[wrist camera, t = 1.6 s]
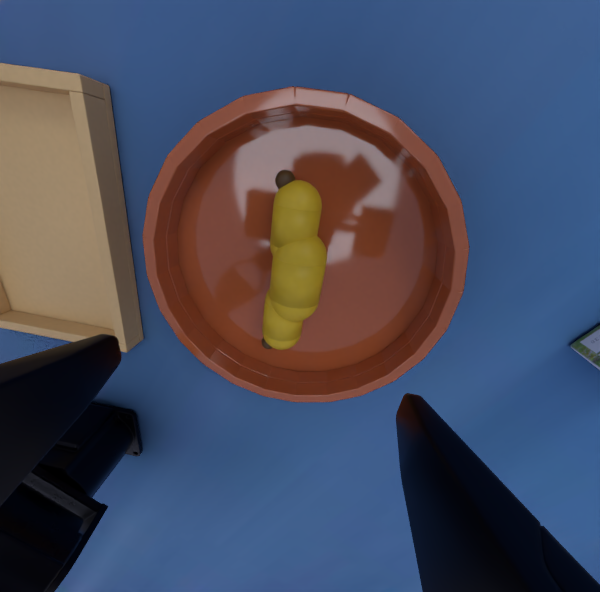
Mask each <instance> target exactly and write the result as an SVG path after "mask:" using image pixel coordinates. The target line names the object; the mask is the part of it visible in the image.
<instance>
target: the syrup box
mask: <svg viewBox="0 0 600 592" xmlns="http://www.w3.org/2000/svg"><path fill="white" fill-rule="evenodd" d="M571 348H572V349H573V350H575V351H576V352H577V353H578V354H580V355H581V356H582V357H584V358H585V359H586V360H587V361H589V362H590V363H591V364H592V365H594V366H595V367H596V368H598V369H599V370H600V325H599V326H598V327H596V328H595V329H593V330H592V331H590V332H589V333H587V334H586V335H584V336H583V337H581V338H579V339H578V340H577V341H575V342H574V343H572V344H571Z"/></svg>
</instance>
